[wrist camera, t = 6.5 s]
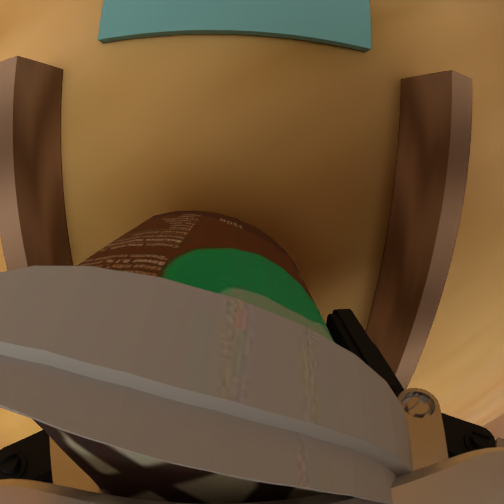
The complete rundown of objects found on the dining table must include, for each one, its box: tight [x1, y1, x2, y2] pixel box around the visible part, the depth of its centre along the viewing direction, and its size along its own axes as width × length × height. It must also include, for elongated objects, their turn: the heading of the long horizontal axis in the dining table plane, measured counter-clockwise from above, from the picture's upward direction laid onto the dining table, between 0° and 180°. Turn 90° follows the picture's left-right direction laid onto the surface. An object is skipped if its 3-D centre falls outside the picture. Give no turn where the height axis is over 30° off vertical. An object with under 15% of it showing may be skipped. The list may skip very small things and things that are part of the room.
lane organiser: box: [0, 56, 472, 390], centre depth 14 cm, size 21×18×4 cm
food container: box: [0, 211, 413, 504], centre depth 9 cm, size 12×6×10 cm, turn 14°
